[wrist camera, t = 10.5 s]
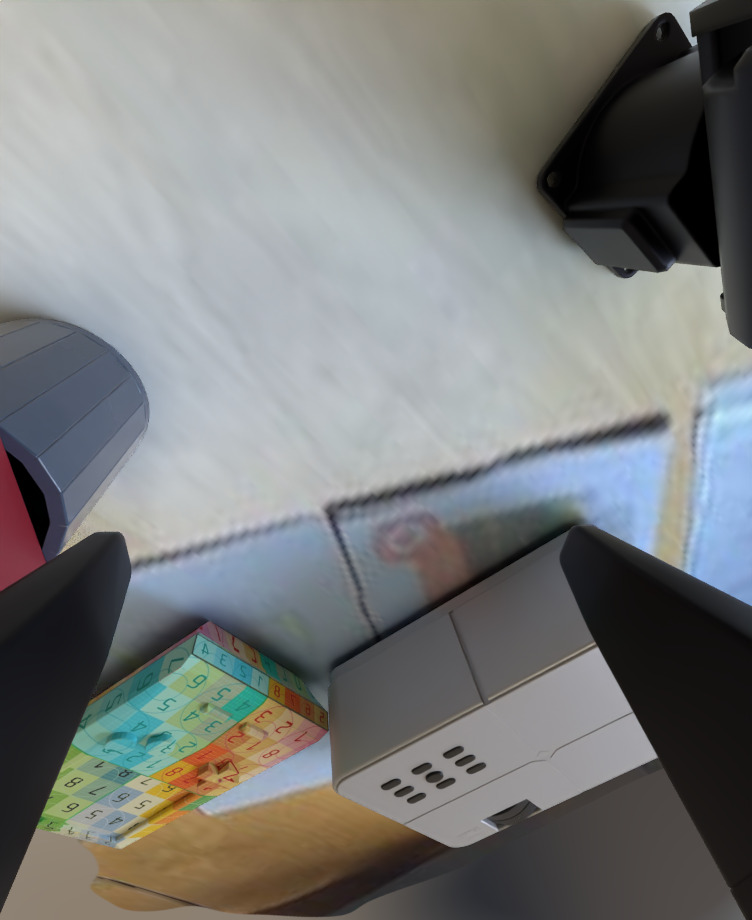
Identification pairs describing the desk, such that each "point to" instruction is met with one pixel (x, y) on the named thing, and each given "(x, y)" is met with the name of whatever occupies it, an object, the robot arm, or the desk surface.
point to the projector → (482, 709)
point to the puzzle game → (179, 738)
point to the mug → (65, 421)
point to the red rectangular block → (15, 530)
